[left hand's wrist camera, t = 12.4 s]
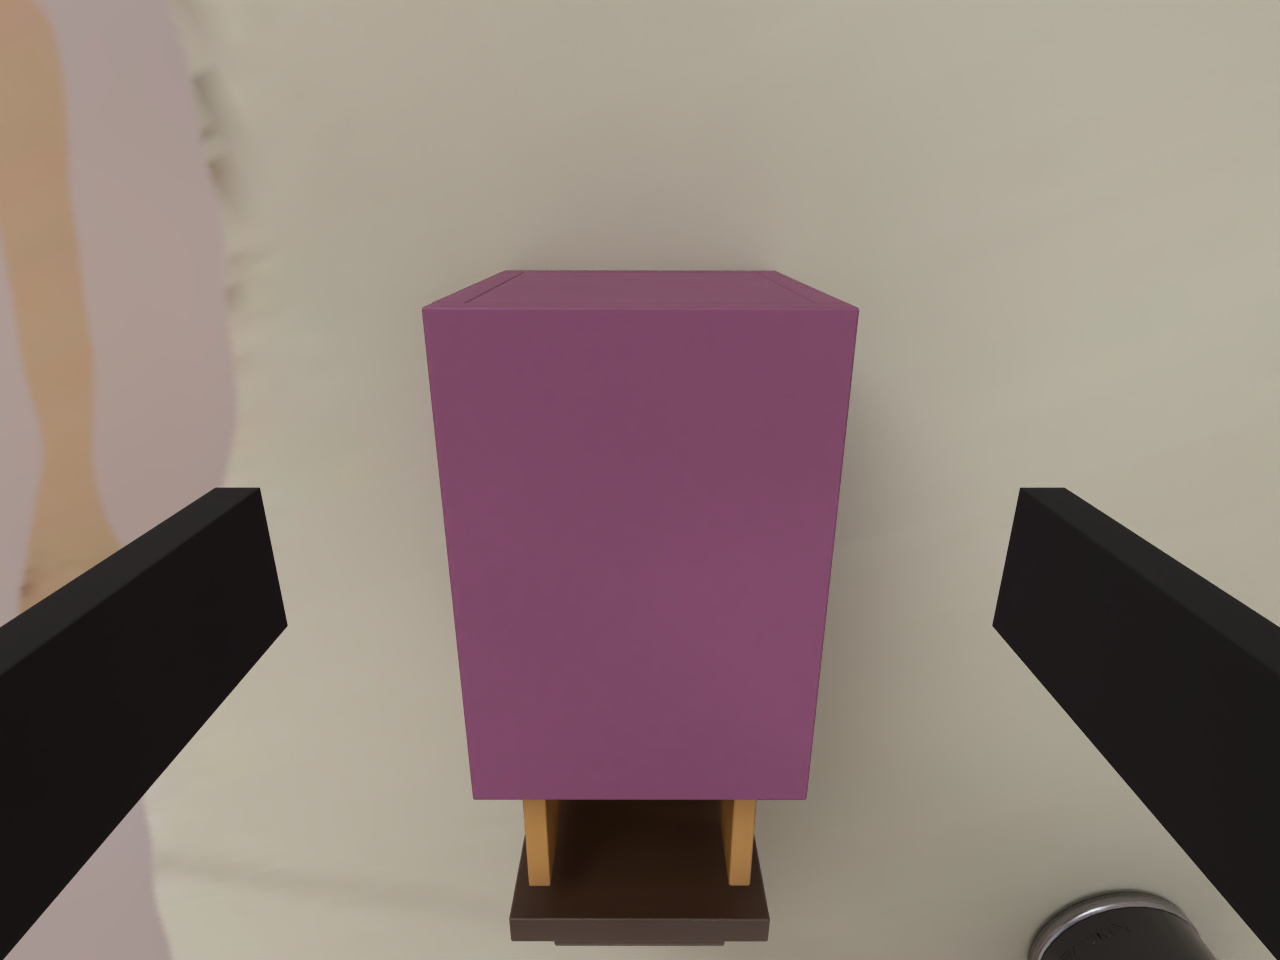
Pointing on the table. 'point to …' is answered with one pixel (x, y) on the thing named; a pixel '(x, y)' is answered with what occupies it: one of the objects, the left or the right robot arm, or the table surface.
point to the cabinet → (640, 526)
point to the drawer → (639, 873)
